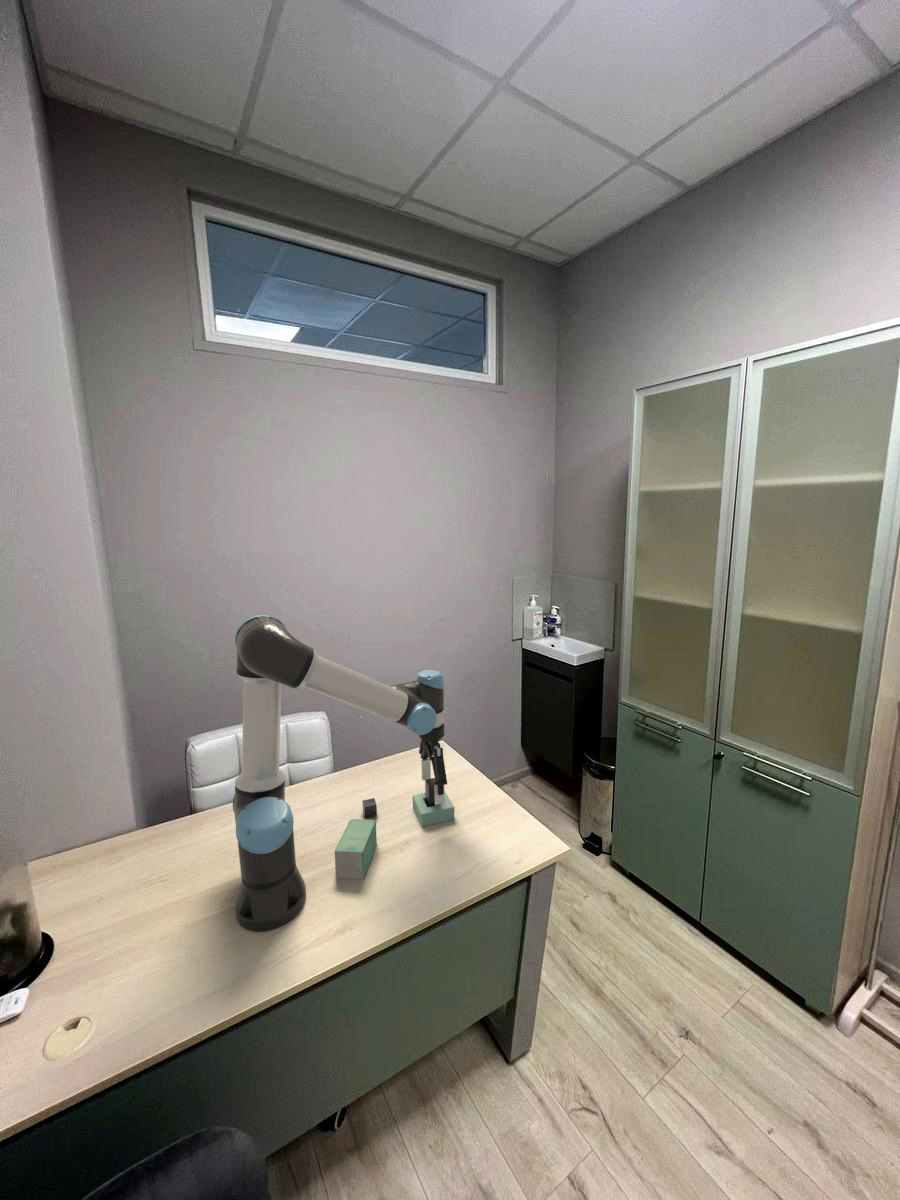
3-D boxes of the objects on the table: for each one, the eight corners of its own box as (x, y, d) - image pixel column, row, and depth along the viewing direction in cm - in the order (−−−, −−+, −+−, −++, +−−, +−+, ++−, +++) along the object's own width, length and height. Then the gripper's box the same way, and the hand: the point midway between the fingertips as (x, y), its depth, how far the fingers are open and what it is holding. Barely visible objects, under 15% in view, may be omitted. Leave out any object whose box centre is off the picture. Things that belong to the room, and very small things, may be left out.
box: (377, 842, 130) (376, 818, 128) (364, 880, 116) (362, 852, 115) (351, 841, 130) (349, 817, 129) (335, 878, 117) (333, 851, 116)
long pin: (440, 815, 141) (440, 783, 139) (429, 818, 140) (428, 785, 138) (437, 808, 145) (436, 777, 143) (425, 811, 143) (425, 779, 142)
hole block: (454, 819, 139) (454, 806, 139) (421, 826, 136) (421, 814, 135) (443, 800, 149) (443, 788, 148) (412, 807, 145) (412, 795, 145)
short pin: (377, 816, 141) (376, 804, 140) (364, 819, 140) (364, 807, 139) (374, 809, 144) (374, 798, 144) (363, 812, 143) (362, 800, 143)
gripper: (458, 739, 127) (459, 811, 131) (431, 706, 150) (432, 768, 154) (431, 744, 125) (433, 817, 128) (408, 709, 148) (410, 772, 152)
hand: (432, 790), depth 141 cm, fingers open, 13 cm apart
